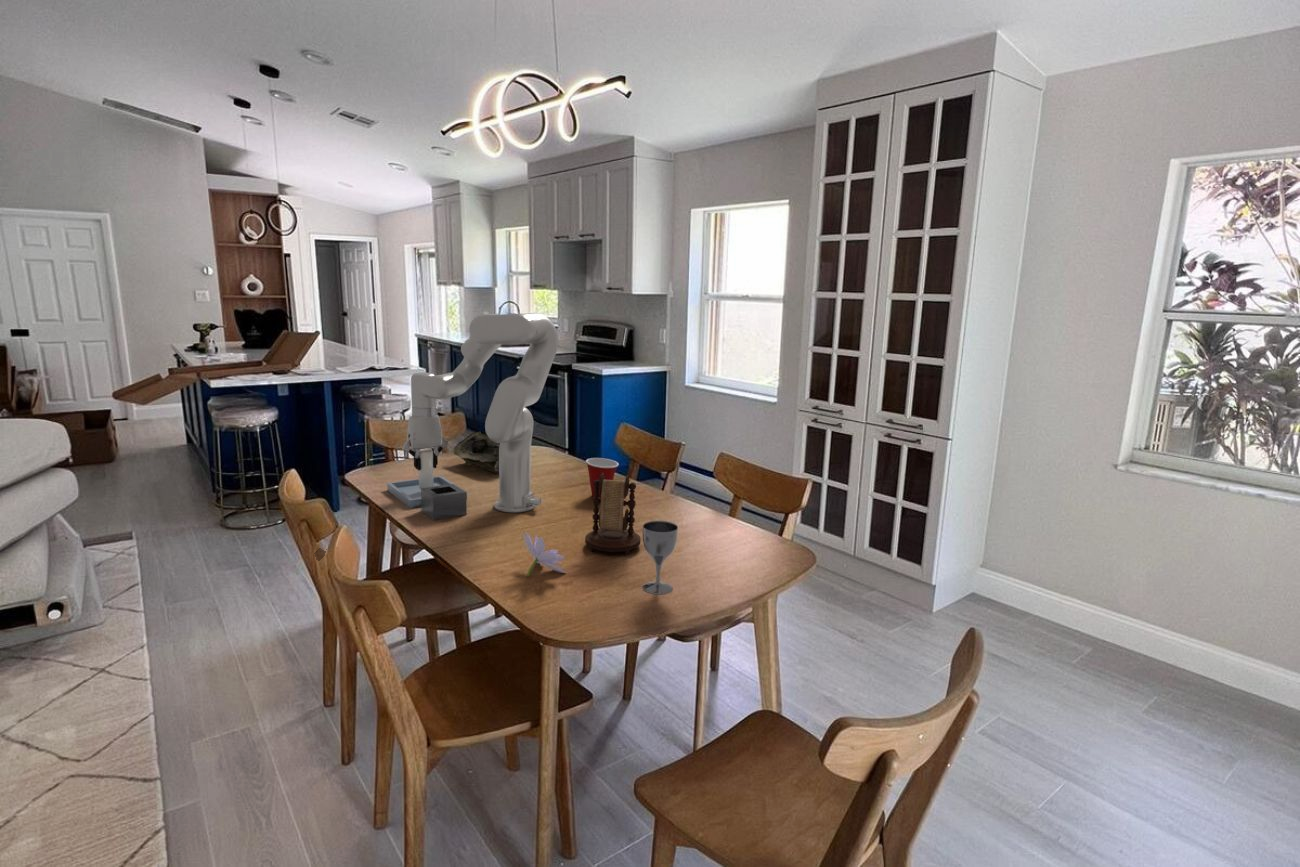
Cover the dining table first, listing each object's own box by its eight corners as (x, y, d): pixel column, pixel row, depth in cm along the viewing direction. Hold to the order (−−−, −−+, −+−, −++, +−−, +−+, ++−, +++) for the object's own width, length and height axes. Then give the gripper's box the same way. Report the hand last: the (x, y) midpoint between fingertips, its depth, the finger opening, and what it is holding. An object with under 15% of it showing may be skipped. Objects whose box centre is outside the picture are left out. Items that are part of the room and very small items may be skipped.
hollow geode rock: (507, 489, 248) (532, 456, 253) (485, 469, 240) (511, 436, 244) (468, 470, 268) (492, 440, 272) (446, 451, 259) (471, 420, 264)
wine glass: (673, 580, 164) (676, 521, 161) (675, 595, 156) (679, 532, 153) (640, 580, 164) (642, 520, 161) (640, 594, 156) (643, 531, 153)
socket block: (466, 514, 205) (466, 492, 204) (433, 520, 199) (433, 497, 198) (453, 505, 213) (453, 483, 211) (421, 510, 207) (420, 488, 205)
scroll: (579, 554, 178) (580, 479, 174) (591, 535, 192) (593, 465, 188) (635, 559, 176) (638, 484, 172) (644, 539, 191) (646, 469, 186)
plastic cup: (616, 501, 223) (617, 465, 221) (583, 500, 223) (584, 464, 221) (618, 492, 234) (619, 457, 231) (587, 490, 234) (587, 456, 231)
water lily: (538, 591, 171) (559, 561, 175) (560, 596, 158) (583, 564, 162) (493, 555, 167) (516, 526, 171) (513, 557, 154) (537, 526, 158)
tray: (466, 499, 219) (466, 491, 219) (410, 508, 209) (410, 500, 208) (441, 482, 236) (440, 475, 236) (387, 490, 226) (387, 482, 225)
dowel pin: (435, 488, 222) (435, 452, 219) (421, 490, 219) (420, 453, 216) (430, 485, 225) (429, 449, 223) (417, 486, 222) (416, 450, 220)
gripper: (445, 408, 225) (447, 462, 229) (393, 412, 215) (395, 468, 218) (454, 412, 219) (455, 467, 223) (401, 416, 209) (403, 474, 213)
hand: (425, 467), depth 221 cm, fingers closed on dowel pin, 4 cm apart
